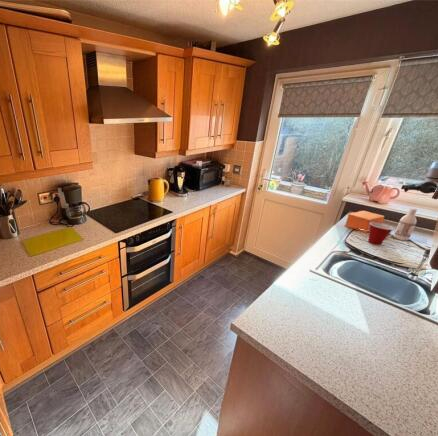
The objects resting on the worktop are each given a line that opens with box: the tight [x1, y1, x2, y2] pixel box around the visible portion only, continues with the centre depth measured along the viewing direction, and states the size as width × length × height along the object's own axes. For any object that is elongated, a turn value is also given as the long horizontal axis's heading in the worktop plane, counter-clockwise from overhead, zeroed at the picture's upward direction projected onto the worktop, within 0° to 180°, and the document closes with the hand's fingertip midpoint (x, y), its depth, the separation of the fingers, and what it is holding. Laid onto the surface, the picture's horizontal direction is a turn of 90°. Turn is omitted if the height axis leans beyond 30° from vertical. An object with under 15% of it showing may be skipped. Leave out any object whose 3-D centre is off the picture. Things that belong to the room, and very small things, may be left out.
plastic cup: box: [368, 223, 394, 246], centre depth 140 cm, size 11×11×12 cm
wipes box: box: [344, 215, 385, 233], centre depth 163 cm, size 17×13×9 cm
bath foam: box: [393, 207, 418, 241], centre depth 144 cm, size 7×7×20 cm
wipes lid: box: [347, 210, 386, 221], centre depth 161 cm, size 17×13×1 cm
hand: (422, 192), depth 140 cm, fingers open, 13 cm apart
